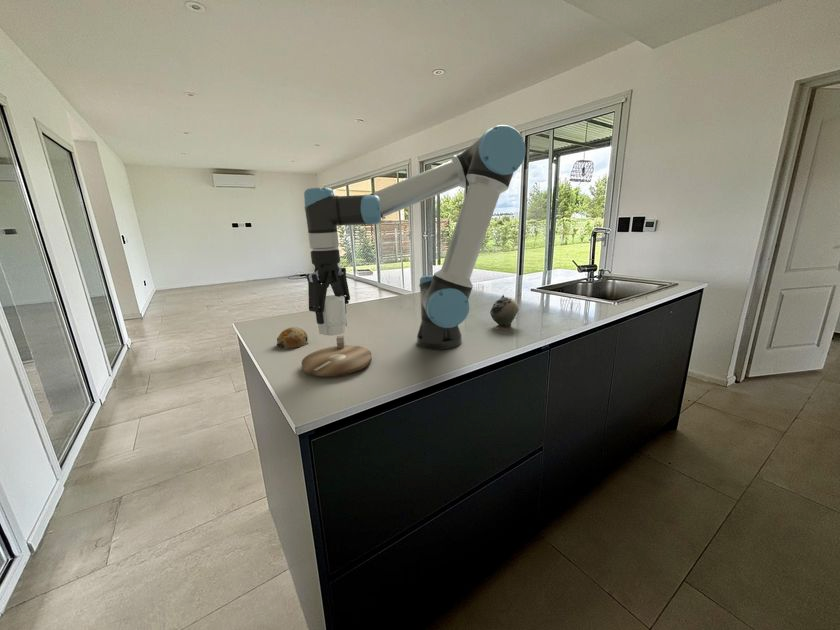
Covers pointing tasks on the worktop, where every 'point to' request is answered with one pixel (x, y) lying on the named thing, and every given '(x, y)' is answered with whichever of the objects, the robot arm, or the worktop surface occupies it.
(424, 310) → the robot arm
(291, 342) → the bread roll
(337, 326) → the white cup
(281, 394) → the worktop surface
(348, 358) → the turntable
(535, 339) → the worktop surface
